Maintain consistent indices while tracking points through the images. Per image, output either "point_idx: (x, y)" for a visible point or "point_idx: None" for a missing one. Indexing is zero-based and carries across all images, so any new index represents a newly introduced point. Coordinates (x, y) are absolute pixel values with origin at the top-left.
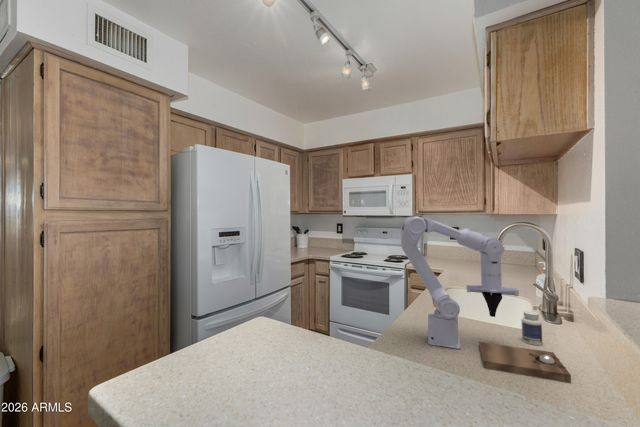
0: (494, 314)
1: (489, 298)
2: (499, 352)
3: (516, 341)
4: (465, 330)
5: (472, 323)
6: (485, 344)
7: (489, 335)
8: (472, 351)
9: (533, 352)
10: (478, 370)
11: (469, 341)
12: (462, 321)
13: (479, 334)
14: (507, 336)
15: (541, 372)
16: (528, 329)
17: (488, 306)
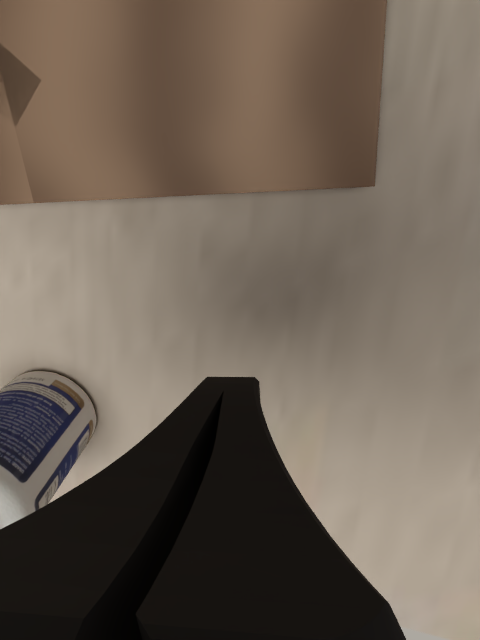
0: (205, 387)
1: (232, 589)
2: (232, 3)
3: (126, 389)
4: (409, 457)
5: None
6: (327, 146)
7: (268, 426)
8: (428, 85)
9: (5, 144)
10: None
11: (415, 282)
12: (402, 578)
13: (327, 422)
14: None
15: None
16: (12, 431)
17: (273, 454)
